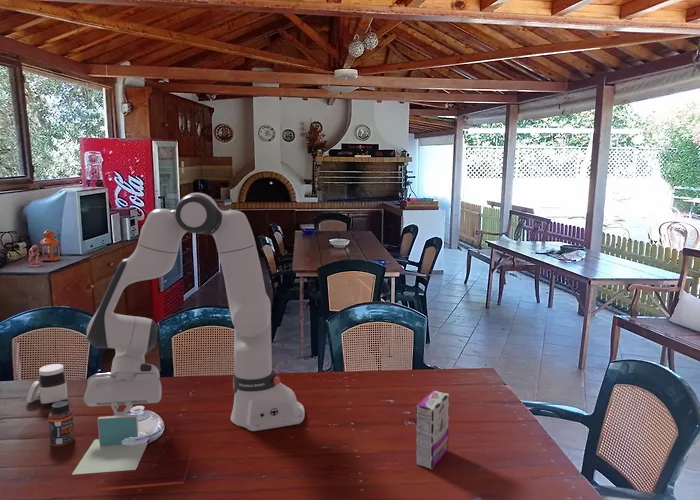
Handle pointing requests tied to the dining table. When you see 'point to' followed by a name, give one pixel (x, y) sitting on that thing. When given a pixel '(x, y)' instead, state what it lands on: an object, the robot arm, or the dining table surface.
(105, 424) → the tile
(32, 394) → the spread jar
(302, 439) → the dining table surface
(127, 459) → the mat
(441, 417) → the candy bar box
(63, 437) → the supplement bottle
